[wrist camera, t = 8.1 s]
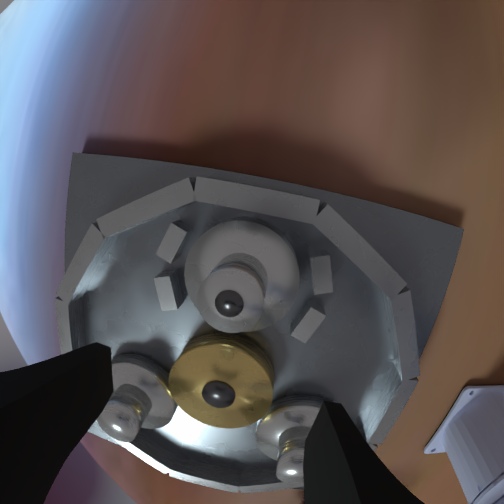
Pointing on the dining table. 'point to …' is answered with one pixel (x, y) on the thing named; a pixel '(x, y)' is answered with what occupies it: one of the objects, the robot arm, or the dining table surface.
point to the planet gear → (242, 275)
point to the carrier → (244, 343)
